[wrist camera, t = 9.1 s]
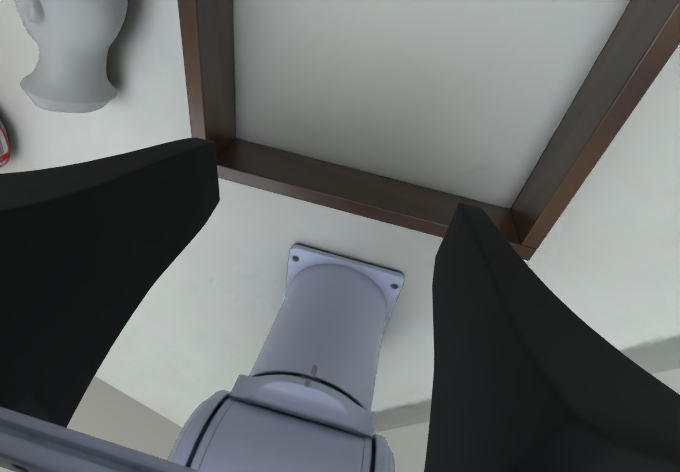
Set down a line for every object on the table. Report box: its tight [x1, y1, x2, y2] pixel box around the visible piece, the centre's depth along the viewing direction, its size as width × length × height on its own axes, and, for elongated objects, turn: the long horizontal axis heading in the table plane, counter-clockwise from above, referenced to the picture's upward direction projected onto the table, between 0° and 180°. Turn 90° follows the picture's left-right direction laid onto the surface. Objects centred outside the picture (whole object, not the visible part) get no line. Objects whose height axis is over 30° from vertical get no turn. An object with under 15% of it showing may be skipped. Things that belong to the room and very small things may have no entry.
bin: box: [178, 0, 680, 260], centre depth 15 cm, size 15×18×3 cm
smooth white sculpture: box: [15, 0, 127, 113], centre depth 17 cm, size 4×8×5 cm
